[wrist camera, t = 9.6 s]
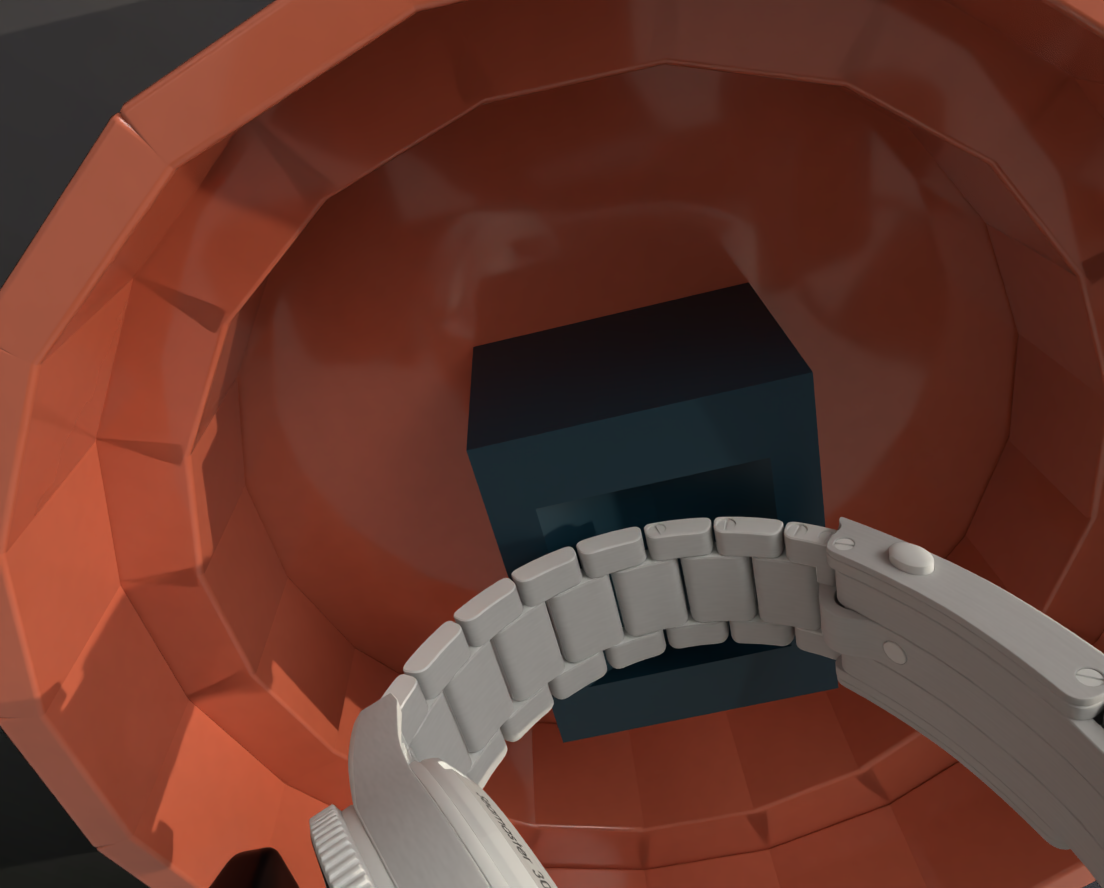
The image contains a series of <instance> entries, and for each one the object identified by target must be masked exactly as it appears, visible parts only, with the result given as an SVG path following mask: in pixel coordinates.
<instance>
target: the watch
mask: <svg viewBox="0 0 1104 888" xmlns="http://www.w3.org/2000/svg"><path fill="white" fill-rule="evenodd" d="M466 451H467V454H468V457H469V460H470V463H471V466H472V469H473V472H474V475H475V478H476V481H477V484H478V487H479V490H480V493H481V496H482V499H483V502H484V505H485V508H486V511H487V514H488V517H489V520H490V523H491V527H492V530H493V533H494V536H495V539H496V542H497V545H498V548H499V551H500V554H501V557H502V560H503V563H504V566H505V569H506V572H507V575H508V578H503V579H501V580H499V581H497V582H496V583H494V584H493V585H491V586H490V587H488V588H487V589H485V590H483V591H482V592H481V593H479V594H478V595H476V596H475V597H474V598H472V599H471V600H470V601H468V602H467V603H466V604H464V605H463V606H462V607H460V608H459V609H458V610H457V611H456V612H455V613H454V619H455V621H456V623H455V622H453V621H447V622H445V623H444V624H442V625H441V626H440V627H439V628H438V629H437V630H436V631H435V632H434V633H433V634H432V635H431V636H430V637H429V638H428V639H427V640H426V641H425V642H424V643H423V644H422V645H421V646H420V647H419V648H418V649H417V650H416V651H415V653H414V654H413V655H412V656H411V657H410V658H409V660H408V661H407V662H406V663H405V665H404V667H403V671H404V673H405V674H402V675H399V676H398V677H397V678H396V679H395V680H394V681H393V682H392V684H391V685H390V686H389V688H388V689H387V690H386V692H385V693H384V695H383V696H382V698H381V699H380V700H378V701H376V702H375V703H373V704H372V705H370V706H368V707H367V708H365V709H364V710H362V711H361V712H360V713H359V715H358V717H357V719H356V720H355V722H354V725H353V729H352V733H351V738H350V745H349V755H348V772H349V782H350V789H351V796H352V802H353V805H350V806H349V807H347V808H346V809H344V810H343V811H341V810H339V809H338V808H337V807H336V806H335V805H333V804H331V805H330V806H328V807H327V808H325V809H324V810H322V811H321V812H319V813H318V814H316V815H315V816H313V817H312V818H310V820H309V823H310V835H311V841H312V846H313V849H314V852H315V855H316V858H317V861H318V864H319V867H320V869H321V872H322V875H323V878H324V882H325V886H326V888H558V887H557V886H556V884H555V883H554V882H553V880H552V879H551V877H550V876H549V874H548V873H547V871H546V870H545V869H544V867H543V866H542V864H541V863H540V861H539V860H538V859H537V857H536V856H535V854H534V853H533V852H532V850H531V849H530V847H529V846H528V845H527V843H526V842H525V841H524V839H523V838H522V837H521V835H520V834H519V833H518V831H517V830H516V829H515V827H514V826H513V825H512V823H511V822H510V821H509V820H508V818H507V817H506V816H505V815H504V813H503V812H502V811H501V810H500V808H499V807H498V806H497V805H496V804H495V802H494V801H493V800H492V799H491V798H490V797H489V796H488V795H487V794H486V792H485V791H484V790H483V788H484V786H485V785H486V783H487V781H488V780H489V778H490V776H491V775H492V773H493V772H494V770H495V769H496V768H497V766H498V765H499V764H500V762H501V761H502V759H503V758H504V757H505V755H506V753H507V745H506V743H505V740H506V741H509V742H515V741H517V740H519V739H520V738H521V737H522V736H523V735H524V734H525V733H526V732H527V731H528V730H529V729H530V728H531V727H532V726H533V725H534V724H535V723H536V722H537V721H539V720H540V719H541V718H542V717H543V716H544V715H545V714H546V713H548V712H549V711H550V710H551V708H552V710H553V713H554V716H555V719H556V722H557V725H558V728H559V731H560V734H561V737H562V740H563V743H565V742H570V741H575V740H580V739H585V738H590V737H595V736H600V735H605V734H610V733H615V732H620V731H625V730H630V729H635V728H641V727H646V726H651V725H656V724H661V723H666V722H671V721H676V720H681V719H686V718H691V717H696V716H701V715H706V714H711V713H716V712H721V711H726V710H731V709H736V708H741V707H746V706H751V705H756V704H761V703H766V702H771V701H776V700H781V699H786V698H791V697H796V696H801V695H806V694H811V693H816V692H821V691H826V690H831V689H836V688H838V681H839V683H840V684H841V685H843V686H844V687H846V688H848V689H850V690H852V691H853V692H855V693H857V694H859V695H860V696H862V697H864V698H866V699H867V700H869V701H871V702H872V703H874V704H876V705H877V706H879V707H881V708H882V709H884V710H886V711H887V712H889V713H891V714H892V715H894V716H895V717H897V718H898V719H900V720H902V721H903V722H905V723H906V724H908V725H909V726H911V727H912V728H914V729H915V730H917V731H918V732H920V733H921V734H922V735H924V736H925V737H927V738H928V739H930V740H931V741H932V742H934V743H935V744H937V745H938V746H939V747H941V748H942V749H944V750H945V751H946V752H947V753H949V754H950V755H951V756H953V757H954V758H955V759H956V760H958V761H959V762H960V763H961V764H963V765H964V766H965V767H966V768H967V769H969V770H970V771H971V772H972V773H973V774H975V775H976V776H977V777H978V778H979V779H980V780H982V781H983V782H984V783H985V784H986V785H987V786H988V787H990V788H991V789H992V790H993V791H994V792H995V793H996V794H997V795H998V796H1000V797H1001V798H1002V799H1003V800H1004V801H1005V802H1006V803H1007V804H1008V805H1009V806H1010V807H1012V808H1013V809H1014V810H1015V811H1016V812H1017V813H1018V814H1019V815H1020V816H1021V817H1022V818H1023V819H1024V820H1025V821H1026V822H1027V823H1028V824H1029V825H1030V826H1031V827H1032V828H1033V829H1034V830H1035V831H1036V832H1037V833H1038V834H1039V835H1040V836H1041V837H1042V838H1043V839H1045V840H1046V841H1047V842H1048V843H1049V844H1050V845H1052V846H1054V847H1056V848H1059V849H1065V850H1067V849H1071V850H1072V851H1073V852H1074V854H1075V855H1076V856H1077V857H1078V858H1079V859H1080V861H1081V862H1082V863H1083V864H1084V865H1085V866H1086V867H1087V869H1088V870H1089V871H1090V873H1091V874H1092V875H1093V877H1094V878H1095V879H1096V881H1097V882H1098V883H1099V885H1100V886H1101V887H1102V888H1104V654H1103V653H1102V652H1101V651H1099V650H1098V649H1096V648H1095V647H1093V646H1092V645H1091V644H1089V643H1088V642H1086V641H1085V640H1083V639H1082V638H1080V637H1079V636H1077V635H1076V634H1074V633H1073V632H1071V631H1070V630H1068V629H1067V628H1065V627H1064V626H1062V625H1061V624H1059V623H1058V622H1056V621H1055V620H1053V619H1052V618H1050V617H1048V616H1047V615H1045V614H1044V613H1042V612H1040V611H1039V610H1037V609H1036V608H1034V607H1033V606H1031V605H1029V604H1028V603H1026V602H1024V601H1023V600H1021V599H1019V598H1018V597H1016V596H1014V595H1013V594H1011V593H1009V592H1007V591H1006V590H1004V589H1002V588H1000V587H998V586H997V585H995V584H993V583H991V582H989V581H988V580H986V579H984V578H982V577H980V576H978V575H976V574H974V573H972V572H970V571H968V570H966V569H964V568H962V567H960V566H958V565H956V564H954V563H952V562H950V561H948V560H945V559H943V558H941V557H939V556H937V555H935V554H932V553H930V552H928V551H927V550H925V549H924V548H922V547H920V546H917V545H914V544H911V543H908V542H905V541H903V540H900V539H898V538H896V537H893V536H891V535H888V534H886V533H883V532H881V531H878V530H876V529H873V528H871V527H868V526H866V525H863V524H860V523H858V522H855V521H852V520H849V519H847V518H844V517H840V519H839V527H838V530H835V529H830V528H826V527H825V515H824V503H823V490H822V478H821V466H820V453H819V441H818V429H817V416H816V404H815V392H814V379H813V372H812V370H811V369H810V367H809V366H808V365H807V363H806V362H805V360H804V359H803V358H802V356H801V355H800V353H799V352H798V351H797V349H796V348H795V346H794V345H793V344H792V342H791V341H790V339H789V338H788V337H787V335H786V334H785V332H784V331H783V330H782V328H781V327H780V325H779V324H778V323H777V321H776V320H775V318H774V317H773V316H772V314H771V313H770V311H769V310H768V309H767V307H766V306H765V304H764V303H763V302H762V300H761V299H760V297H759V296H758V295H757V293H756V292H755V290H754V289H753V288H752V286H751V285H750V283H749V282H748V283H743V284H739V285H735V286H731V287H726V288H722V289H718V290H714V291H709V292H705V293H701V294H697V295H692V296H688V297H684V298H679V299H675V300H671V301H667V302H662V303H658V304H654V305H650V306H645V307H641V308H637V309H633V310H628V311H624V312H620V313H616V314H611V315H607V316H603V317H599V318H594V319H590V320H586V321H582V322H577V323H573V324H569V325H565V326H560V327H556V328H552V329H547V330H543V331H539V332H535V333H530V334H526V335H522V336H518V337H513V338H509V339H505V340H501V341H496V342H492V343H488V344H484V345H479V346H475V347H473V358H472V373H471V388H470V403H469V417H468V432H467V447H466ZM504 739H505V740H504Z"/></svg>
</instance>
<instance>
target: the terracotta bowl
mask: <svg viewBox="0 0 1104 888" xmlns="http://www.w3.org/2000/svg"><path fill="white" fill-rule="evenodd" d="M748 282H749V283H750V285H751V286H752V288H753V289H754V290H755V292H756V293H757V295H758V296H759V297H760V299H761V300H762V302H763V303H764V304H765V306H766V307H767V309H768V310H769V311H770V313H771V314H772V316H773V317H774V318H775V320H776V321H777V323H778V324H779V325H780V327H781V328H782V330H783V331H784V332H785V334H786V335H787V337H788V338H789V339H790V341H791V342H792V344H793V345H794V346H795V348H796V349H797V351H798V352H799V353H800V355H801V356H802V358H803V359H804V360H805V362H806V363H807V365H808V366H809V367H810V369H811V370H812V372H813V379H814V392H815V404H816V416H817V429H818V441H819V453H820V466H821V478H822V490H823V503H824V515H825V527H826V528H830V529H835V530H838V527H839V519H840V517H844V518H847V519H849V520H852V521H855V522H858V523H860V524H863V525H866V526H868V527H871V528H873V529H876V530H878V531H881V532H883V533H886V534H888V535H891V536H893V537H896V538H898V539H900V540H903V541H905V542H908V543H911V544H914V545H917V546H920V547H922V548H924V549H925V550H927V551H928V552H930V553H932V554H935V555H937V556H939V557H941V558H943V559H945V560H948V561H950V562H952V563H954V564H956V565H958V566H960V567H962V568H964V569H966V570H968V571H970V572H972V573H974V574H976V575H978V576H980V577H982V578H984V579H986V580H988V581H989V582H991V583H993V584H995V585H997V586H998V587H1000V588H1002V589H1004V590H1006V591H1007V592H1009V593H1011V594H1013V595H1014V596H1016V597H1018V598H1019V599H1021V600H1023V601H1024V602H1026V603H1028V604H1029V605H1031V606H1033V607H1034V608H1036V609H1037V610H1039V611H1040V612H1042V613H1044V614H1045V615H1047V616H1048V617H1050V618H1052V619H1053V620H1055V621H1056V622H1058V623H1059V624H1061V625H1062V626H1064V627H1065V628H1067V629H1068V630H1070V631H1071V632H1073V633H1074V634H1076V635H1077V636H1079V637H1080V638H1082V639H1083V640H1085V641H1086V642H1088V643H1089V644H1091V645H1092V646H1093V647H1095V648H1096V649H1098V650H1099V651H1101V652H1102V653H1103V654H1104V0H274V1H273V2H272V3H270V4H269V5H267V6H266V7H264V8H263V9H261V10H260V11H258V12H257V13H255V14H254V15H253V16H251V17H250V18H248V19H247V20H245V21H244V22H242V23H241V24H239V25H238V26H236V27H235V28H234V29H232V30H231V31H229V32H228V33H226V34H225V35H223V36H222V37H220V38H219V39H218V40H216V41H215V42H213V43H212V44H210V45H209V46H207V47H206V48H204V49H203V50H201V51H200V52H199V53H197V54H196V55H194V56H193V57H191V58H190V59H188V60H187V61H185V62H184V63H182V64H181V65H180V66H178V67H177V68H175V69H174V70H172V71H171V72H169V73H168V74H166V75H165V76H164V77H162V78H161V79H159V80H158V81H156V82H155V83H153V84H152V85H150V86H149V87H147V88H146V89H145V90H143V91H142V92H140V93H139V94H137V95H136V96H134V97H133V98H131V99H130V100H128V101H127V102H126V103H124V104H123V106H122V108H121V110H120V112H118V113H116V114H115V115H113V116H111V118H110V119H109V121H108V122H107V124H106V126H105V127H104V129H103V130H102V132H101V133H100V135H99V136H98V138H97V140H96V141H95V143H94V144H93V146H92V147H91V149H90V150H89V152H88V153H87V155H86V157H85V158H84V160H83V161H82V163H81V164H80V166H79V167H78V169H77V171H76V172H75V174H74V175H73V177H72V178H71V180H70V181H69V183H68V185H67V186H66V188H65V189H64V191H63V192H62V194H61V195H60V197H59V199H58V200H57V202H56V203H55V205H54V206H53V208H52V209H51V211H50V212H49V214H48V216H47V217H46V219H45V220H44V222H43V223H42V225H41V226H40V228H39V230H38V231H37V233H36V234H35V236H34V237H33V239H32V240H31V242H30V244H29V245H28V247H27V248H26V250H25V251H24V253H23V254H22V256H21V258H20V259H19V261H18V262H17V264H16V265H15V267H14V268H13V270H12V271H11V273H10V275H9V276H8V278H7V279H6V281H5V282H4V284H3V285H2V287H1V289H0V727H1V729H2V730H3V731H4V732H5V734H6V735H7V736H8V738H9V739H10V740H11V741H12V743H13V744H14V745H15V747H16V748H17V749H18V750H19V752H20V753H21V754H22V756H23V757H24V758H25V760H26V761H27V762H28V763H29V765H30V766H31V767H32V769H33V770H34V771H35V772H36V774H37V775H38V776H39V778H40V779H41V780H42V781H43V783H44V784H45V785H46V787H47V788H48V789H49V791H50V792H51V793H52V794H53V796H54V797H55V798H56V800H57V801H58V802H59V803H60V805H61V806H62V807H63V809H64V810H65V811H66V812H67V814H68V815H69V816H70V818H71V819H72V820H73V822H74V823H75V824H76V825H77V827H78V828H79V829H80V831H81V832H82V833H83V834H84V836H85V837H86V838H87V840H88V841H89V842H90V844H91V845H92V846H94V847H97V850H98V852H100V853H101V854H103V855H104V856H106V857H107V858H108V859H110V860H111V861H113V862H114V863H115V864H117V865H118V866H120V867H121V868H123V869H124V870H125V871H127V872H128V873H130V874H131V875H132V876H134V877H135V878H137V879H138V880H139V881H141V882H142V883H144V884H145V885H147V886H148V887H149V888H209V887H210V886H211V884H212V883H213V881H214V880H215V879H216V877H217V876H218V874H219V873H220V872H221V870H222V869H223V868H224V866H225V865H226V863H227V862H228V861H229V860H230V859H231V858H232V857H233V856H234V855H236V854H237V853H240V852H243V851H248V850H254V849H260V848H266V847H272V848H274V849H276V850H277V851H278V852H279V854H280V855H281V857H282V858H283V860H284V862H285V864H286V865H287V867H288V869H289V870H290V872H291V874H292V875H293V877H294V879H295V880H296V882H297V884H298V885H299V887H300V888H326V886H325V882H324V878H323V875H322V872H321V869H320V867H319V864H318V861H317V858H316V855H315V852H314V849H313V846H312V841H311V835H310V823H309V820H310V818H312V817H313V816H315V815H316V814H318V813H319V812H321V811H322V810H324V809H325V808H327V807H328V806H330V805H331V804H333V805H335V806H336V807H337V808H338V809H339V810H341V811H343V810H344V809H346V808H347V807H349V806H350V805H353V802H352V796H351V789H350V782H349V772H348V755H349V745H350V738H351V733H352V729H353V725H354V722H355V720H356V719H357V717H358V715H359V713H360V712H361V711H362V710H364V709H365V708H367V707H368V706H370V705H372V704H373V703H375V702H376V701H378V700H380V699H381V698H382V696H383V695H384V693H385V692H386V690H387V689H388V688H389V686H390V685H391V684H392V682H393V681H394V680H395V679H396V678H397V677H398V676H399V675H402V674H405V673H404V671H403V667H404V665H405V663H406V662H407V661H408V660H409V658H410V657H411V656H412V655H413V654H414V653H415V651H416V650H417V649H418V648H419V647H420V646H421V645H422V644H423V643H424V642H425V641H426V640H427V639H428V638H429V637H430V636H431V635H432V634H433V633H434V632H435V631H436V630H437V629H438V628H439V627H440V626H441V625H442V624H444V623H445V622H447V621H453V622H455V623H456V621H455V619H454V613H455V612H456V611H457V610H458V609H459V608H460V607H462V606H463V605H464V604H466V603H467V602H468V601H470V600H471V599H472V598H474V597H475V596H476V595H478V594H479V593H481V592H482V591H483V590H485V589H487V588H488V587H490V586H491V585H493V584H494V583H496V582H497V581H499V580H501V579H503V578H508V575H507V572H506V569H505V566H504V563H503V560H502V557H501V554H500V551H499V548H498V545H497V542H496V539H495V536H494V533H493V530H492V527H491V523H490V520H489V517H488V514H487V511H486V508H485V505H484V502H483V499H482V496H481V493H480V490H479V487H478V484H477V481H476V478H475V475H474V472H473V469H472V466H471V463H470V460H469V457H468V454H467V451H466V447H467V432H468V417H469V403H470V388H471V373H472V358H473V347H475V346H479V345H484V344H488V343H492V342H496V341H501V340H505V339H509V338H513V337H518V336H522V335H526V334H530V333H535V332H539V331H543V330H547V329H552V328H556V327H560V326H565V325H569V324H573V323H577V322H582V321H586V320H590V319H594V318H599V317H603V316H607V315H611V314H616V313H620V312H624V311H628V310H633V309H637V308H641V307H645V306H650V305H654V304H658V303H662V302H667V301H671V300H675V299H679V298H684V297H688V296H692V295H697V294H701V293H705V292H709V291H714V290H718V289H722V288H726V287H731V286H735V285H739V284H743V283H748ZM504 740H505V739H504ZM505 743H506V745H507V753H506V755H505V757H504V758H503V759H502V761H501V762H500V764H499V765H498V766H497V768H496V769H495V770H494V772H493V773H492V775H491V776H490V778H489V780H488V781H487V783H486V785H485V786H484V788H483V790H484V791H485V792H486V794H487V795H488V796H489V797H490V798H491V799H492V800H493V801H494V802H495V804H496V805H497V806H498V807H499V808H500V810H501V811H502V812H503V813H504V815H505V816H506V817H507V818H508V820H509V821H510V822H511V823H512V825H513V826H514V827H515V829H516V830H517V831H518V833H519V834H520V835H521V837H522V838H523V839H524V841H525V842H526V843H527V845H528V846H529V847H530V849H531V850H532V852H533V853H534V854H535V856H536V857H537V859H538V860H539V861H540V863H541V864H542V866H543V867H544V869H545V870H546V871H547V873H548V874H549V876H550V877H551V879H552V880H553V882H554V883H555V884H556V886H557V887H558V888H1083V887H1085V886H1087V885H1089V884H1090V883H1092V882H1094V881H1096V879H1095V878H1094V877H1093V875H1092V874H1091V873H1090V871H1089V870H1088V869H1087V867H1086V866H1085V865H1084V864H1083V863H1082V862H1081V861H1080V859H1079V858H1078V857H1077V856H1076V855H1075V854H1074V852H1073V851H1072V850H1071V849H1067V850H1065V849H1059V848H1056V847H1054V846H1052V845H1050V844H1049V843H1048V842H1047V841H1046V840H1045V839H1043V838H1042V837H1041V836H1040V835H1039V834H1038V833H1037V832H1036V831H1035V830H1034V829H1033V828H1032V827H1031V826H1030V825H1029V824H1028V823H1027V822H1026V821H1025V820H1024V819H1023V818H1022V817H1021V816H1020V815H1019V814H1018V813H1017V812H1016V811H1015V810H1014V809H1013V808H1012V807H1010V806H1009V805H1008V804H1007V803H1006V802H1005V801H1004V800H1003V799H1002V798H1001V797H1000V796H998V795H997V794H996V793H995V792H994V791H993V790H992V789H991V788H990V787H988V786H987V785H986V784H985V783H984V782H983V781H982V780H980V779H979V778H978V777H977V776H976V775H975V774H973V773H972V772H971V771H970V770H969V769H967V768H966V767H965V766H964V765H963V764H961V763H960V762H959V761H958V760H956V759H955V758H954V757H953V756H951V755H950V754H949V753H947V752H946V751H945V750H944V749H942V748H941V747H939V746H938V745H937V744H935V743H934V742H932V741H931V740H930V739H928V738H927V737H925V736H924V735H922V734H921V733H920V732H918V731H917V730H915V729H914V728H912V727H911V726H909V725H908V724H906V723H905V722H903V721H902V720H900V719H898V718H897V717H895V716H894V715H892V714H891V713H889V712H887V711H886V710H884V709H882V708H881V707H879V706H877V705H876V704H874V703H872V702H871V701H869V700H867V699H866V698H864V697H862V696H860V695H859V694H857V693H855V692H853V691H852V690H850V689H848V688H846V687H844V686H843V685H841V684H840V683H839V681H838V688H836V689H831V690H826V691H821V692H816V693H811V694H806V695H801V696H796V697H791V698H786V699H781V700H776V701H771V702H766V703H761V704H756V705H751V706H746V707H741V708H736V709H731V710H726V711H721V712H716V713H711V714H706V715H701V716H696V717H691V718H686V719H681V720H676V721H671V722H666V723H661V724H656V725H651V726H646V727H641V728H635V729H630V730H625V731H620V732H615V733H610V734H605V735H600V736H595V737H590V738H585V739H580V740H575V741H570V742H565V743H563V740H562V737H561V734H560V731H559V728H558V725H557V722H556V719H555V716H554V713H553V710H552V708H551V710H550V711H549V712H548V713H546V714H545V715H544V716H543V717H542V718H541V719H540V720H539V721H537V722H536V723H535V724H534V725H533V726H532V727H531V728H530V729H529V730H528V731H527V732H526V733H525V734H524V735H523V736H522V737H521V738H520V739H519V740H517V741H515V742H509V741H506V740H505Z"/></svg>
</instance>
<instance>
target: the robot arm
mask: <svg viewBox="0 0 1104 888" xmlns="http://www.w3.org/2000/svg"><path fill="white" fill-rule="evenodd" d="M209 888H300V887H299V885H298V884H297V882H296V880H295V879H294V877H293V875H292V874H291V872H290V870H289V869H288V867H287V865H286V864H285V862H284V860H283V858H282V857H281V855H280V854H279V852H278V851H277V850H276V849H274V848H272V847H266V848H260V849H254V850H248V851H243V852H240V853H237V854H236V855H234V856H233V857H232V858H231V859H230V860H229V861H228V862H227V863H226V865H225V866H224V868H223V869H222V870H221V872H220V873H219V874H218V876H217V877H216V879H215V880H214V881H213V883H212V884H211V886H210V887H209Z"/></svg>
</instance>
